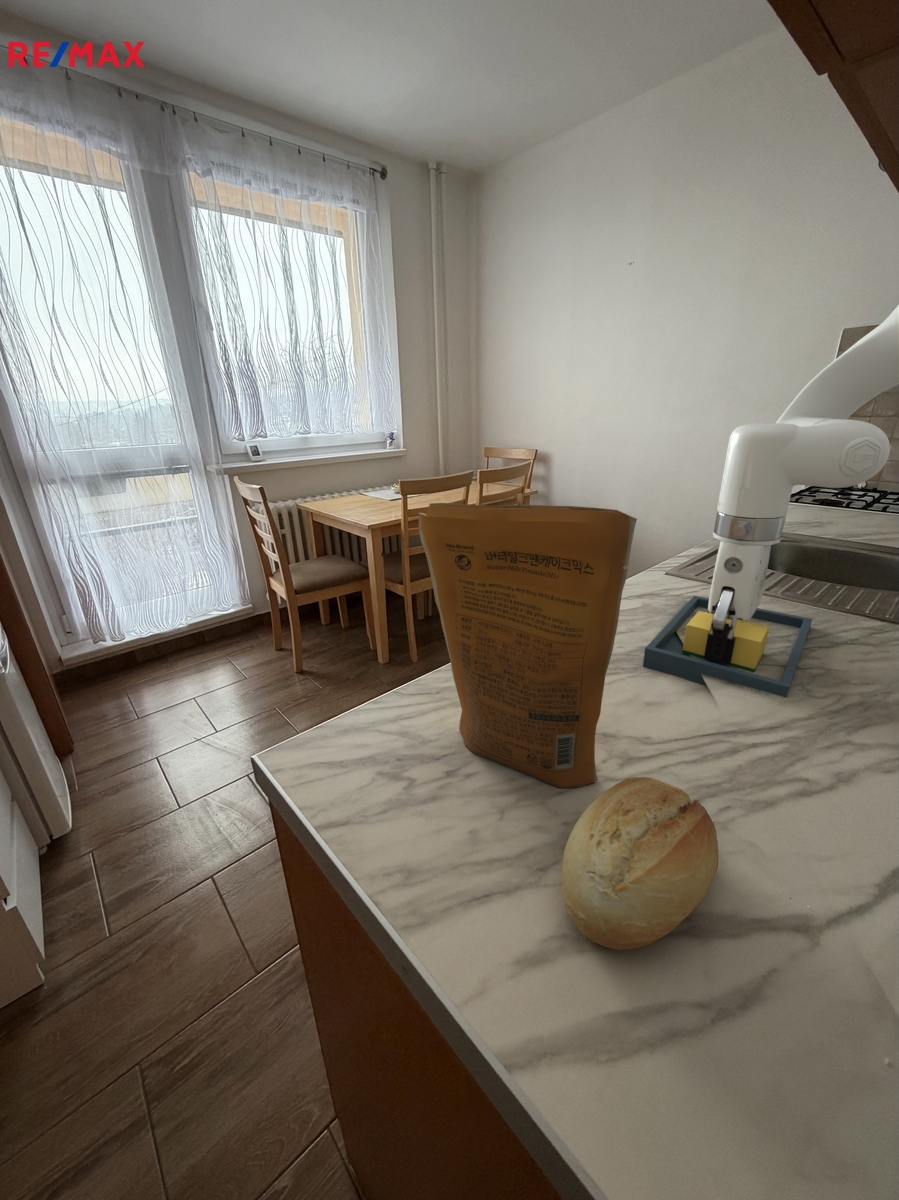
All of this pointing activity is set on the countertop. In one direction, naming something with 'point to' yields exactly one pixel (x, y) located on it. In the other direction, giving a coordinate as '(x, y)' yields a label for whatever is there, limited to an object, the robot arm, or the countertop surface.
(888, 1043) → the countertop surface
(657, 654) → the tray
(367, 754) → the countertop surface
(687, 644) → the sponge
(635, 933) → the bread roll
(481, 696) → the pancake mix bag
